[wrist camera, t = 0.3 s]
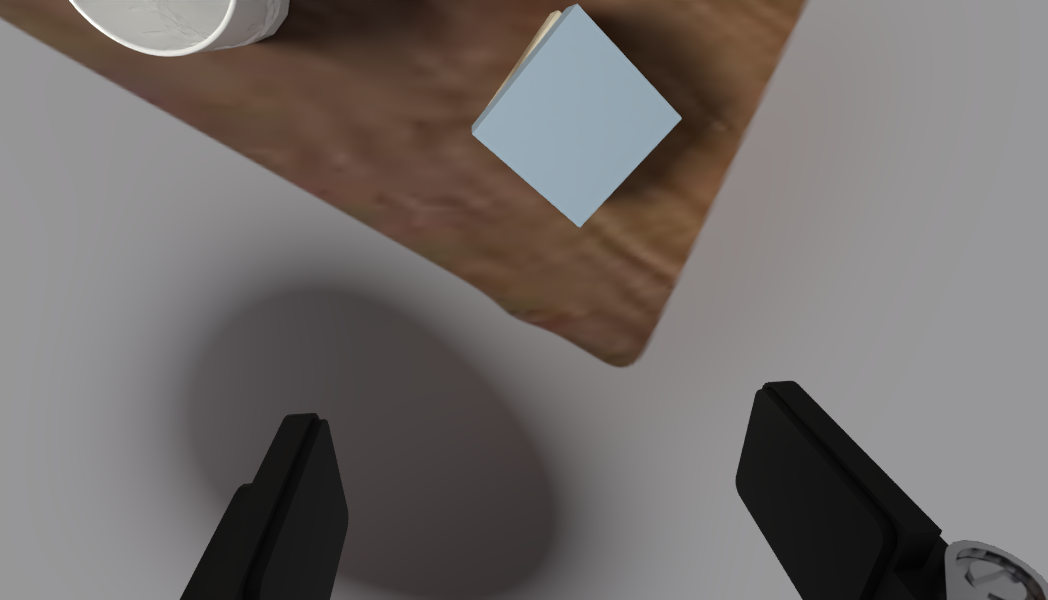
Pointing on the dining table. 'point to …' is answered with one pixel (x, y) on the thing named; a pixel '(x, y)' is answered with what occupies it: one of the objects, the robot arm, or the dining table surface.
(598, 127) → the tower top block
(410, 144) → the dining table surface
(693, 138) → the dining table surface
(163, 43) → the white cup
